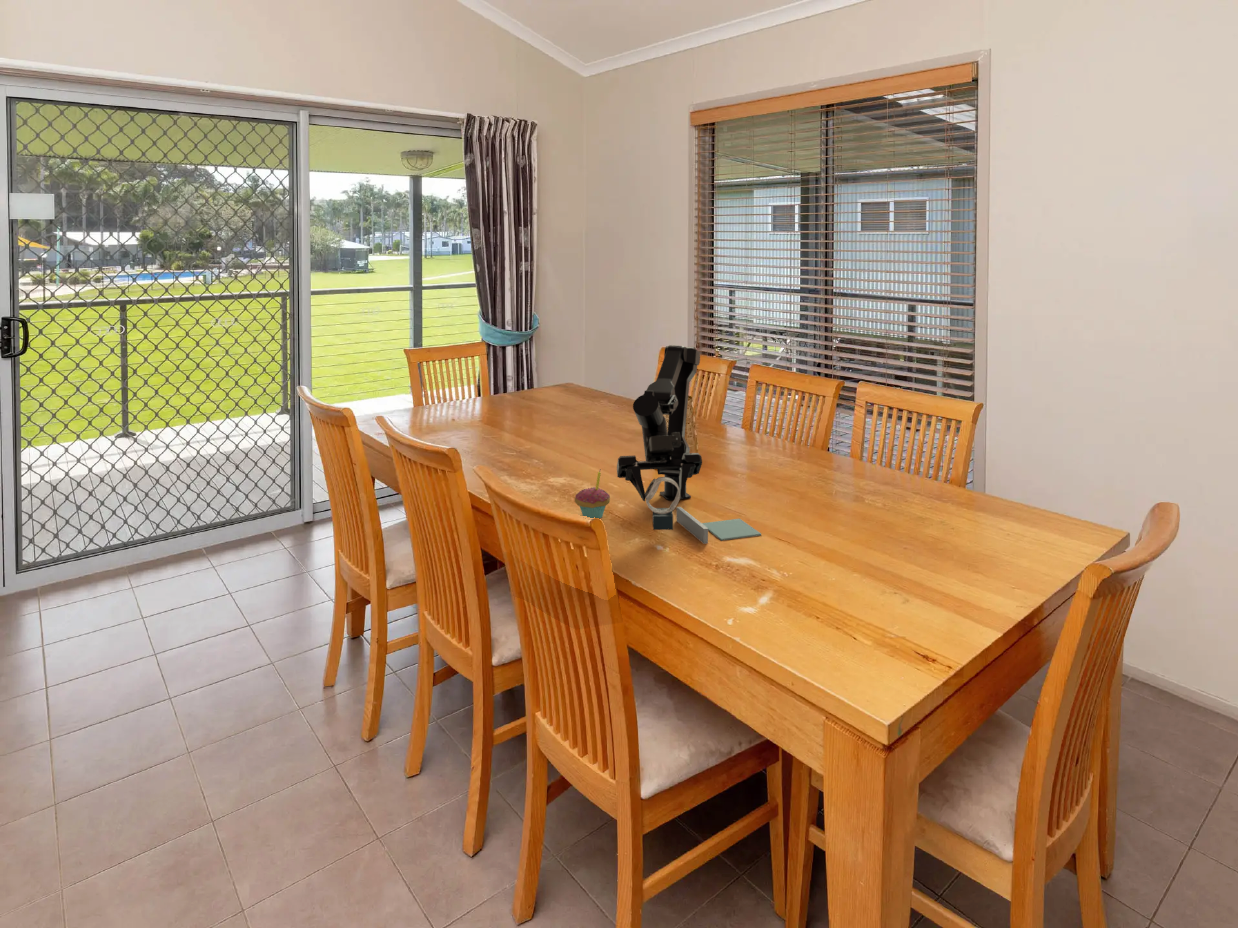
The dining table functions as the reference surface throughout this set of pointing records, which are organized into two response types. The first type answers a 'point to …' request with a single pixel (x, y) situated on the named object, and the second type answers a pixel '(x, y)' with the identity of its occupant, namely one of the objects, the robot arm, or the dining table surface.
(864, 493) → the dining table surface
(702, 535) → the acrylic wall
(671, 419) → the robot arm
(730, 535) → the mat
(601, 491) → the cupcake
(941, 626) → the dining table surface
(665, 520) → the watch
